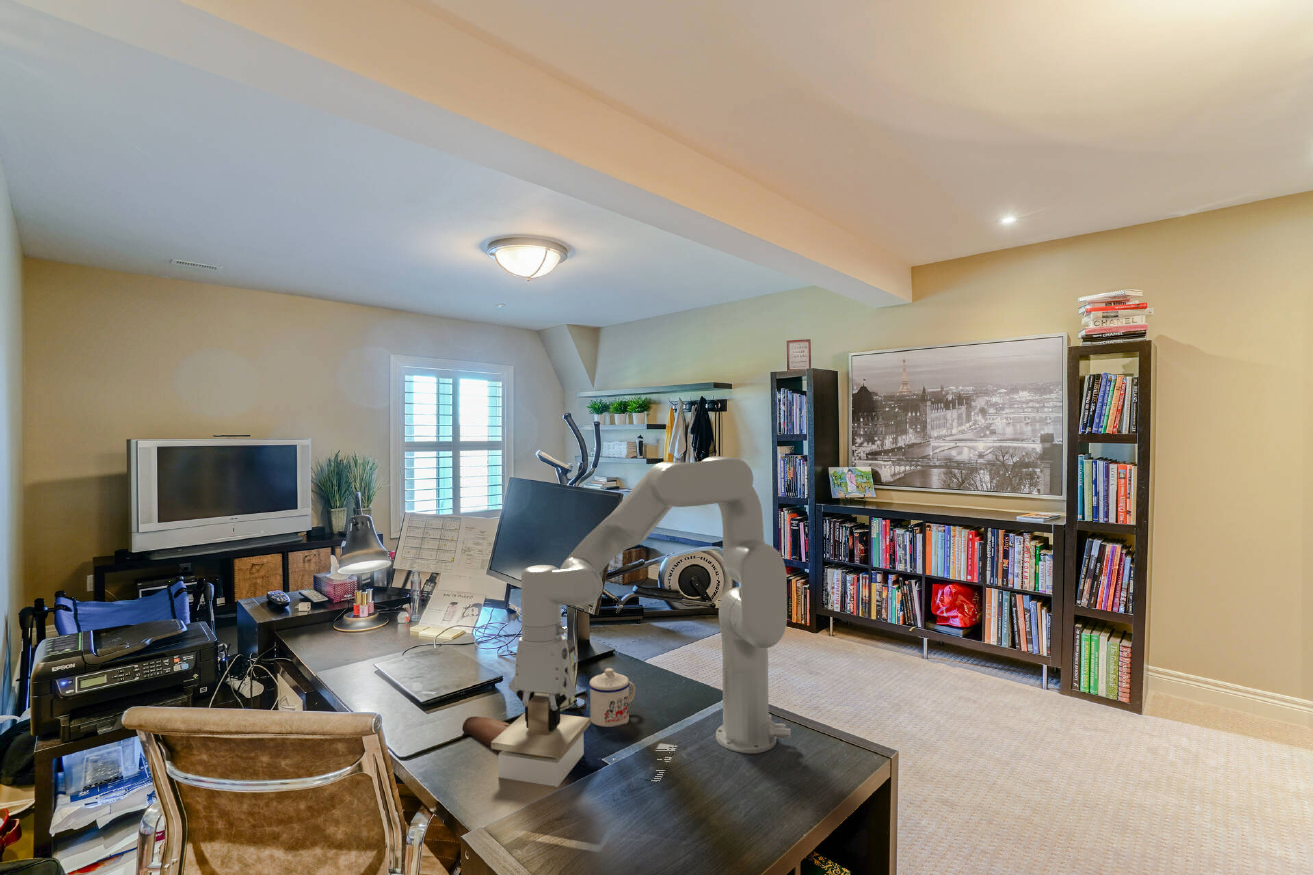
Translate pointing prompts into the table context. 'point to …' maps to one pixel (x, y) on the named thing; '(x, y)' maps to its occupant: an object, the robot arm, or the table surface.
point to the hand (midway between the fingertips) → (542, 725)
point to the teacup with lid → (610, 698)
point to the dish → (539, 765)
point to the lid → (541, 731)
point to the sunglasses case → (484, 729)
